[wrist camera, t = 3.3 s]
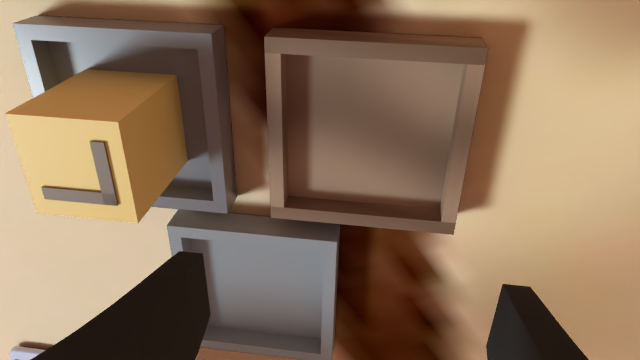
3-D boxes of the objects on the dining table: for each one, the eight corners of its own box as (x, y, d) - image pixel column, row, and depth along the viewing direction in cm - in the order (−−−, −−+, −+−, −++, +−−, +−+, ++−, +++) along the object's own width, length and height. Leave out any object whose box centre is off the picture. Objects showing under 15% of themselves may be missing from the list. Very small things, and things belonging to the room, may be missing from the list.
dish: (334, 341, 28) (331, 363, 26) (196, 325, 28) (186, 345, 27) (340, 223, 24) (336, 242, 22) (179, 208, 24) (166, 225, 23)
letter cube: (187, 160, 22) (136, 224, 18) (104, 153, 23) (34, 214, 18) (176, 74, 20) (116, 123, 16) (85, 69, 21) (2, 114, 16)
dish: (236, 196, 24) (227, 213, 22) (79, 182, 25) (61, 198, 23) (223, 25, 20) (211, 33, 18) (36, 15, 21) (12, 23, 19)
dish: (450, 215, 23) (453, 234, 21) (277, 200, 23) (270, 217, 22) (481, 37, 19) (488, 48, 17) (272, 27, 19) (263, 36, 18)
